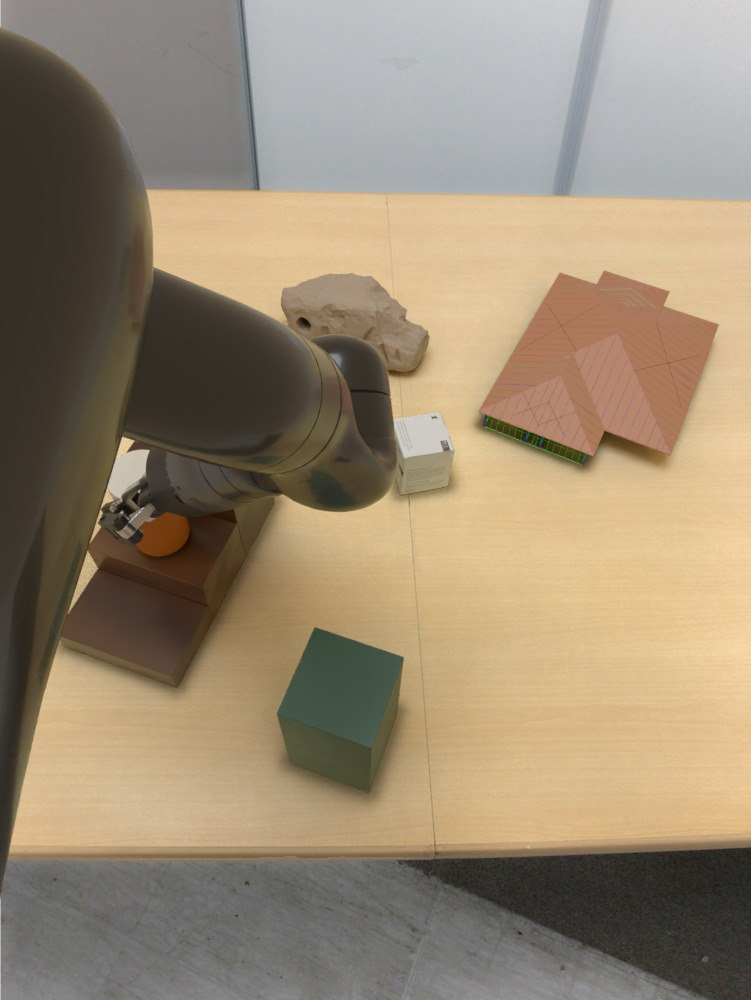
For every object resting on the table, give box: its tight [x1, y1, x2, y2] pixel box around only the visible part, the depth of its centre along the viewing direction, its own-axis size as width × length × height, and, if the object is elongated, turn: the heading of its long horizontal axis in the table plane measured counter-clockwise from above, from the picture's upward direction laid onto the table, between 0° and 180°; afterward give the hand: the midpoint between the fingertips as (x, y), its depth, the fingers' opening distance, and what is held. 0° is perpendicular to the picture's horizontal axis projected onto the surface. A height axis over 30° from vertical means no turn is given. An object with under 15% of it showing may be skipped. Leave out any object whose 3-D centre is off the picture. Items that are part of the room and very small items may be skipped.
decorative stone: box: [280, 272, 430, 373], centre depth 98 cm, size 20×8×10 cm, turn 66°
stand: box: [276, 626, 405, 794], centre depth 66 cm, size 8×8×14 cm
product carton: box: [393, 411, 456, 496], centre depth 87 cm, size 6×6×7 cm
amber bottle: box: [107, 450, 190, 556], centre depth 71 cm, size 6×6×10 cm
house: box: [477, 270, 720, 466], centre depth 96 cm, size 23×33×8 cm
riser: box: [59, 441, 276, 688], centre depth 77 cm, size 24×13×11 cm, turn 160°
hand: (133, 490), depth 71 cm, fingers closed on amber bottle, 5 cm apart
